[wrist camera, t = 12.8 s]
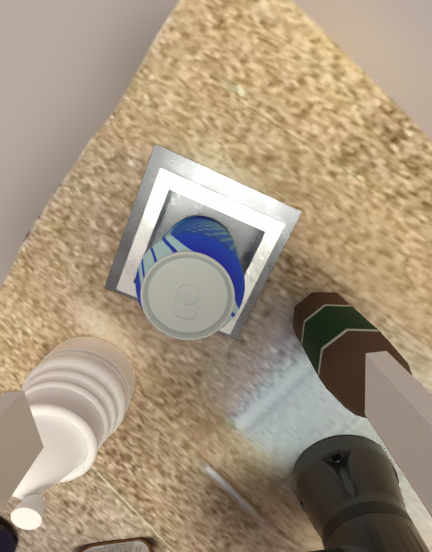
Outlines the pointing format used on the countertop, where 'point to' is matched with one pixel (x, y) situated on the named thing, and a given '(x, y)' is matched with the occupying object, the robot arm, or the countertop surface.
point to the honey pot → (72, 415)
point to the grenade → (6, 540)
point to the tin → (120, 546)
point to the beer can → (191, 279)
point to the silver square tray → (210, 203)
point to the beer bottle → (340, 346)
